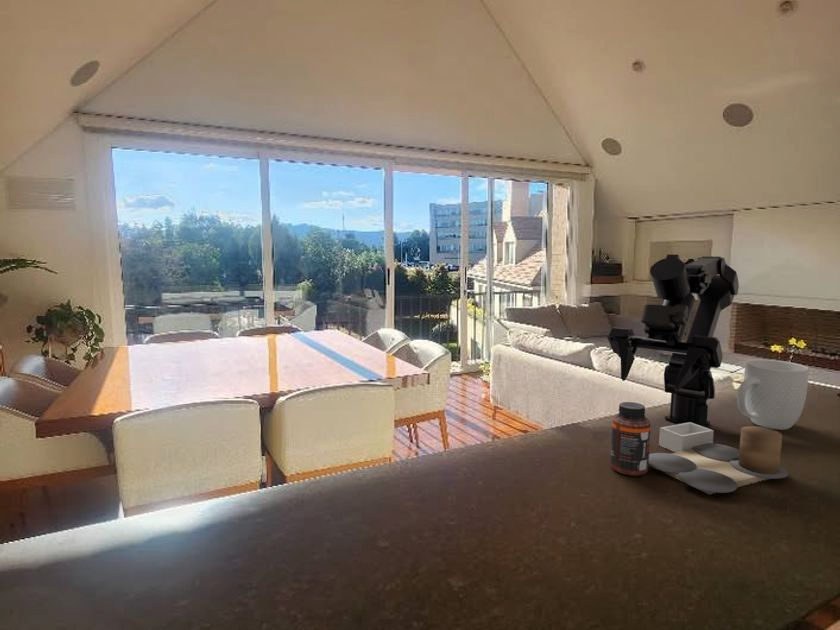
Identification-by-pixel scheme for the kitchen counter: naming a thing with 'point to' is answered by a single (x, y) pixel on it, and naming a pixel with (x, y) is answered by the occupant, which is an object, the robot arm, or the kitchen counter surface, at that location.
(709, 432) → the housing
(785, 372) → the mug
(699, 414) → the robot arm
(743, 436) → the board
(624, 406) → the supplement bottle
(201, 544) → the kitchen counter surface
